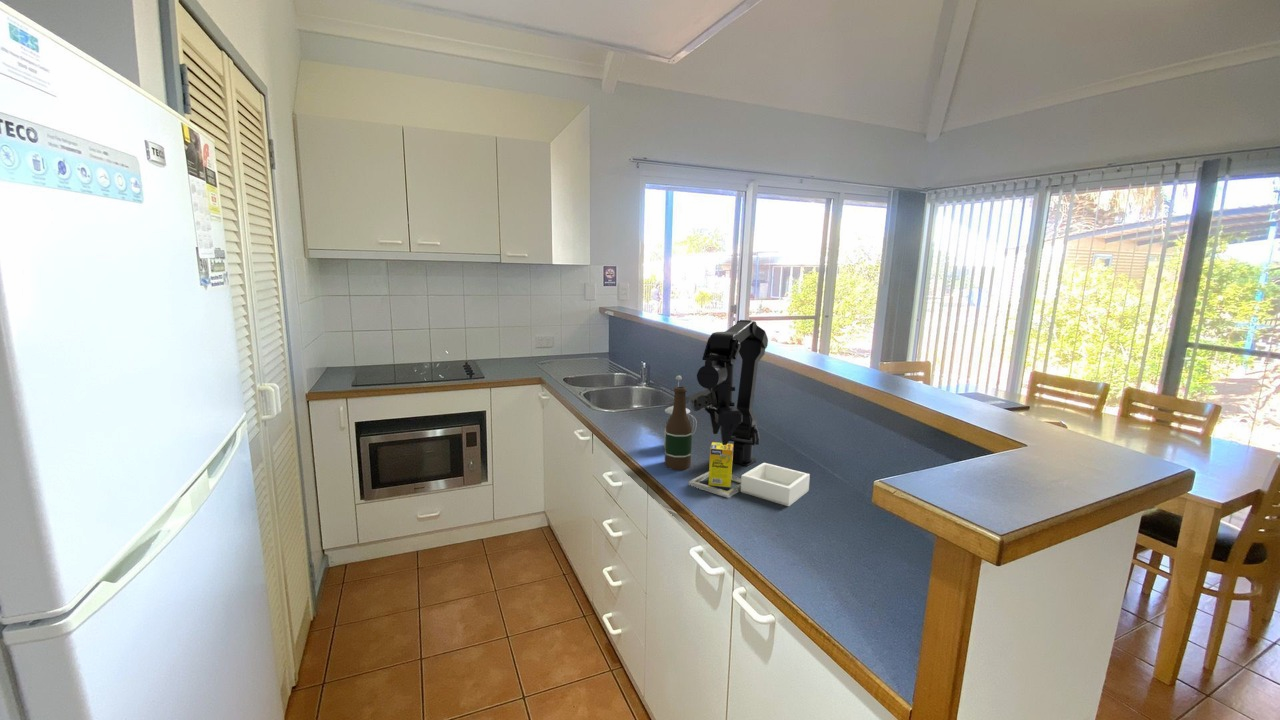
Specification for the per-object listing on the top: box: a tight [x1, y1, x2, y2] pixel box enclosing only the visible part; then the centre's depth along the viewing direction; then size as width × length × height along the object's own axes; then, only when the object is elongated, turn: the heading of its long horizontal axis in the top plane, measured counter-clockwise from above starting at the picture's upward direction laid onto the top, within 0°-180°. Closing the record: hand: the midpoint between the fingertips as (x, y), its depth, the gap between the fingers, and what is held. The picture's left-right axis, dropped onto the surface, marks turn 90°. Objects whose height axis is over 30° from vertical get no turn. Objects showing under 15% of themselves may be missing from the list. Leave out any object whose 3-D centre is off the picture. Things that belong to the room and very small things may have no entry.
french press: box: [663, 375, 698, 449], centre depth 161 cm, size 10×12×25 cm
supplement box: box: [707, 441, 733, 491], centre depth 136 cm, size 6×6×11 cm
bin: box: [740, 462, 811, 507], centre depth 133 cm, size 13×13×5 cm
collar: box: [688, 470, 742, 499], centre depth 136 cm, size 12×12×1 cm
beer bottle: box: [664, 386, 693, 471], centre depth 147 cm, size 8×8×24 cm
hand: (719, 439), depth 135 cm, fingers open, 9 cm apart
